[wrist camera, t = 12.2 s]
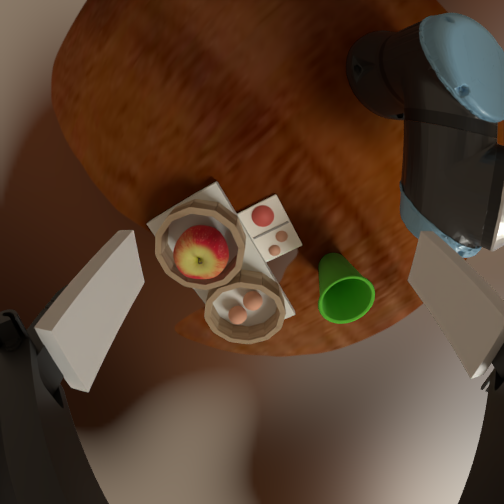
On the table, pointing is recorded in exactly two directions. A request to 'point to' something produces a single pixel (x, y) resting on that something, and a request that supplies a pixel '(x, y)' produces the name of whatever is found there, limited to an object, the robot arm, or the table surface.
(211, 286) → the ring
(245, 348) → the table surface
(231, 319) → the ball
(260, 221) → the card
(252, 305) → the ball
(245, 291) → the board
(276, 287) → the ring
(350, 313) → the cup
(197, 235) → the apple
